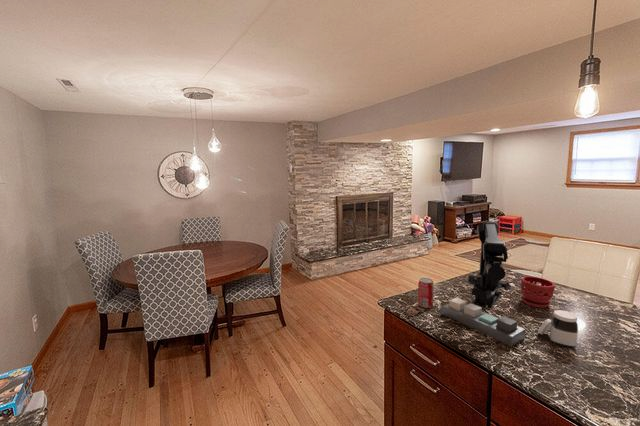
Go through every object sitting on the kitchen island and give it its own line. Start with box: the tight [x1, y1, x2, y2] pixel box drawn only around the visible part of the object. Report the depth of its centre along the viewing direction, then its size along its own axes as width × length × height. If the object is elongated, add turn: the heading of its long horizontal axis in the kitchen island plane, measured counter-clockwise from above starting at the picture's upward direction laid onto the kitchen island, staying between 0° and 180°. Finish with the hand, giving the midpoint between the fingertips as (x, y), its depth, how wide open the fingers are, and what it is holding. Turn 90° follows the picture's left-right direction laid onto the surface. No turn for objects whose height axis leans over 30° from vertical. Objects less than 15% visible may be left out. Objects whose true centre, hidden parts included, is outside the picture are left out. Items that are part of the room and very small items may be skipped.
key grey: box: [464, 302, 483, 318], centre depth 128 cm, size 5×5×4 cm
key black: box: [497, 315, 518, 333], centre depth 117 cm, size 5×5×4 cm
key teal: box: [479, 313, 499, 325], centre depth 123 cm, size 5×5×4 cm
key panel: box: [441, 302, 526, 348], centre depth 126 cm, size 10×30×4 cm, turn 32°
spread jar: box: [537, 309, 579, 349], centre depth 114 cm, size 12×11×12 cm
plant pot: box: [520, 276, 556, 309], centre depth 145 cm, size 13×13×12 cm
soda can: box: [417, 277, 435, 309], centre depth 144 cm, size 7×7×13 cm
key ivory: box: [449, 297, 468, 311], centre depth 134 cm, size 5×5×4 cm
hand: (489, 308), depth 122 cm, fingers closed
